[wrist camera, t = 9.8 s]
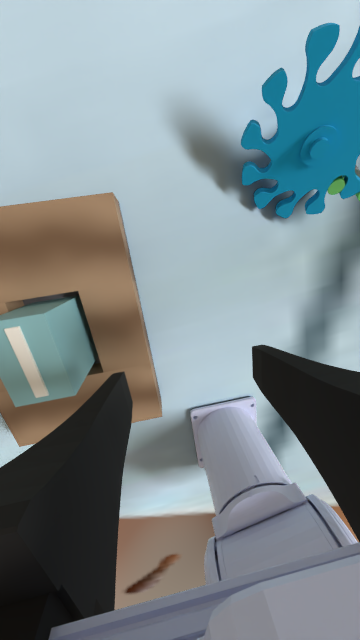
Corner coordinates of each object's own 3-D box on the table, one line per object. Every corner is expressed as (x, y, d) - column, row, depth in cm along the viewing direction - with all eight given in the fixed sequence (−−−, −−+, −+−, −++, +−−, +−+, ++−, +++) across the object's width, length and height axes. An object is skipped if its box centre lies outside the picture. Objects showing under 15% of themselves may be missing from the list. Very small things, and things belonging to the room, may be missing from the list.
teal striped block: (98, 354, 19) (74, 396, 13) (56, 362, 19) (14, 408, 13) (80, 294, 17) (42, 314, 12) (33, 302, 17) (-29, 326, 11)
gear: (210, 168, 15) (394, -100, 7) (217, 137, 18) (353, -76, 10) (298, 248, 19) (474, 139, 11) (292, 213, 22) (428, 106, 14)
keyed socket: (161, 399, 22) (162, 416, 20) (34, 425, 21) (19, 446, 19) (118, 201, 16) (112, 192, 14) (-66, 225, 15) (-107, 220, 13)
